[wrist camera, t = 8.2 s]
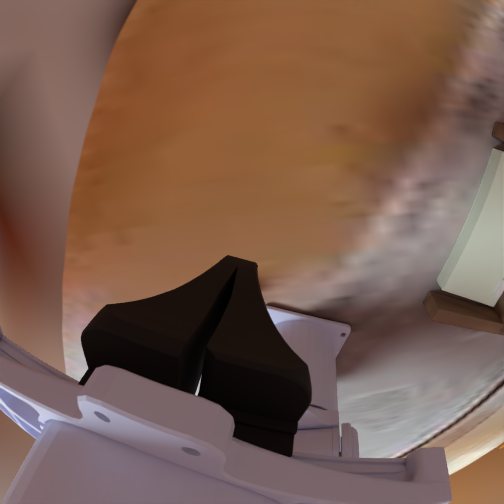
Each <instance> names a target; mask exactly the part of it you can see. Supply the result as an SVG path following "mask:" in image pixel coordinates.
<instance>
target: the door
mask: <svg viewBox="0 0 504 504" xmlns="http://www.w3.org/2000/svg"><path fill="white" fill-rule="evenodd" d="M436 281H437V282H438V284H439V286H440V287H441V289H442V290H443V291H446V292H449V293H453V294H456V295H459V296H462V297H465V298H468V299H471V300H474V301H477V302H480V303H483V304H486V305H489V306H492V307H494V305H495V304H496V302H497V301H498V299H499V297H500V296H501V295H502V293H503V291H504V152H503V151H500V150H497V149H494V148H493V149H492V152H491V155H490V158H489V161H488V165H487V168H486V170H485V173H484V176H483V179H482V182H481V185H480V187H479V190H478V193H477V195H476V198H475V200H474V203H473V205H472V208H471V210H470V212H469V215H468V217H467V219H466V222H465V224H464V226H463V228H462V231H461V233H460V235H459V237H458V239H457V241H456V243H455V245H454V248H453V250H452V252H451V254H450V256H449V258H448V259H447V261H446V263H445V265H444V267H443V269H442V271H441V273H440V275H439V276H438V278H437V280H436Z"/></svg>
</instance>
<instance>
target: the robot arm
mask: <svg viewBox="0 0 504 504" xmlns="http://www.w3.org/2000/svg"><path fill="white" fill-rule="evenodd" d="M257 267H258V265H257V264H256V263H255V262H251V261H248V260H244V259H240V258H237V257H233V256H229V255H227V256H225V257H224V258H223V259H222V260H220V261H219V262H218V263H217V264H215V265H214V266H213V267H211V268H210V269H209V270H207V271H206V272H204V273H203V274H201V275H200V276H198V277H196V278H195V279H193V280H191V281H190V282H188V283H186V284H184V285H182V286H180V287H178V288H176V289H174V290H171V291H168V292H165V293H162V294H160V295H157V296H154V297H150V298H146V299H142V300H137V301H132V302H125V303H117V304H107V305H106V306H105V307H103V308H102V309H101V310H100V311H99V312H98V313H97V315H96V316H95V317H94V318H93V319H92V320H91V322H90V323H89V324H88V325H87V327H86V328H85V329H84V330H83V332H82V335H81V343H82V348H83V351H84V355H85V358H86V362H87V365H88V370H87V371H86V373H85V374H84V376H83V377H82V379H81V380H80V382H79V381H77V380H75V379H73V378H71V377H69V376H67V375H66V374H64V373H62V372H60V371H58V370H57V369H55V368H53V367H52V366H50V365H48V364H47V363H45V362H43V361H42V360H40V359H38V358H37V357H35V356H33V355H32V354H30V353H29V352H27V351H26V350H24V349H23V348H21V347H20V346H18V345H17V344H15V343H14V342H13V341H11V340H10V339H8V338H7V337H6V336H4V335H3V332H2V329H1V327H0V409H1V410H2V411H3V412H4V413H5V414H6V415H7V416H8V417H10V418H11V419H12V420H13V421H14V422H15V423H17V424H18V425H19V426H20V427H21V428H23V429H24V430H25V431H26V432H28V433H29V434H30V435H32V436H33V437H34V438H35V439H37V440H36V441H35V443H34V445H33V446H32V448H31V450H30V451H29V453H28V455H27V457H26V458H25V460H24V462H23V464H22V465H21V467H20V469H19V471H18V473H17V475H16V477H15V478H14V480H13V482H12V484H11V486H10V488H9V490H8V492H7V493H6V495H5V498H4V499H3V501H2V503H1V504H447V503H449V502H451V500H452V495H451V487H450V481H449V474H448V468H447V462H446V457H445V451H444V447H432V448H421V449H417V450H415V451H413V452H412V453H410V454H409V455H408V456H407V457H406V458H359V444H358V433H357V430H356V429H355V428H353V427H351V425H350V423H343V424H342V437H341V452H340V434H339V412H338V401H337V377H336V359H335V358H336V357H337V355H338V353H339V352H340V350H341V348H342V346H343V345H344V343H345V341H346V339H347V337H348V336H349V334H350V332H351V327H350V326H349V325H348V324H343V323H339V322H334V321H330V320H326V319H321V318H317V317H313V316H308V315H304V314H300V313H296V312H292V311H288V310H283V309H279V308H275V307H271V306H266V305H265V302H264V299H263V296H262V293H261V289H260V285H259V280H258V273H257ZM342 333H345V334H342ZM201 375H202V376H201ZM200 378H201V383H200V389H199V393H198V396H196V395H195V393H196V390H197V387H198V384H199V381H200Z"/></svg>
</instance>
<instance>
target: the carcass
mask: <svg viewBox="0 0 504 504" xmlns="http://www.w3.org/2000/svg"><path fill="white" fill-rule="evenodd" d="M492 136H493V137H495V138H496V139H498V140H499V141H501V142H502V143H504V123H500V122H495V124H494V128H493V133H492ZM423 303H424V305H425V307H426V309H427V311H428V313H429V316H430V318H431V320H432V321H436V322H441V323H446V324H450V325H455V326H460V327H465V328H470V329H475V330H479V331H484V332H489V333H494V334H500V335H504V291H503V293H502V295H501V297H500V298H499V300H498V302H497V303H496V305H495V307H494V308H489V307H486V306H482V305H478V304H475V303H471V302H467V301H464V300H460V299H456V298H453V297H449V296H445V295H442V294H438V293H434V292H430V291H429V293H428V295H427V296H426V298H425V300H424V302H423Z"/></svg>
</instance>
